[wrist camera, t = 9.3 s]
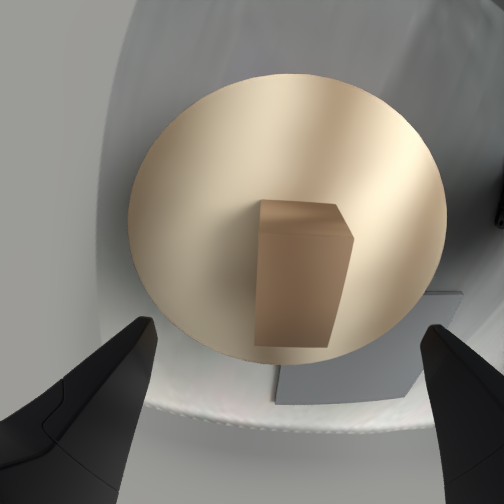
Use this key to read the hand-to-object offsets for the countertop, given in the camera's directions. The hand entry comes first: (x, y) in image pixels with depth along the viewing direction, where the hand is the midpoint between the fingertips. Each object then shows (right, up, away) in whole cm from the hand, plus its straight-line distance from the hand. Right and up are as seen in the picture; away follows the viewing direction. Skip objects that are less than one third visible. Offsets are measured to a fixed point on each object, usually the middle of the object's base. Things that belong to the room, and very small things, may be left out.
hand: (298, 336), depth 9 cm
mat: (+9, -8, +17) cm, 21 cm away
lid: (0, +3, +5) cm, 6 cm away
